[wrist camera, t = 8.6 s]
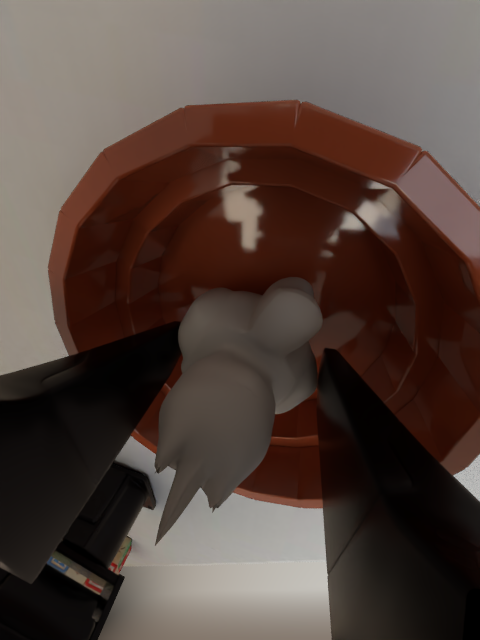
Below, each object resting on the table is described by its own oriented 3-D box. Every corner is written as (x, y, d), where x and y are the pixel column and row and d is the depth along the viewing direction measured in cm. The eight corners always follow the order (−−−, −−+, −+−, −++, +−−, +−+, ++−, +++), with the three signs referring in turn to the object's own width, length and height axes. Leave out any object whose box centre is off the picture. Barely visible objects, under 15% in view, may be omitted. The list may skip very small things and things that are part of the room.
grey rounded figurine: (185, 330, 12) (28, 500, 6) (255, 219, 9) (57, 318, 2) (267, 389, 13) (212, 614, 6) (366, 305, 9) (507, 628, 2)
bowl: (368, 432, 13) (394, 548, 9) (163, 381, 16) (108, 450, 12) (505, 145, 7) (835, 70, 2) (121, 148, 9) (-35, 115, 5)
